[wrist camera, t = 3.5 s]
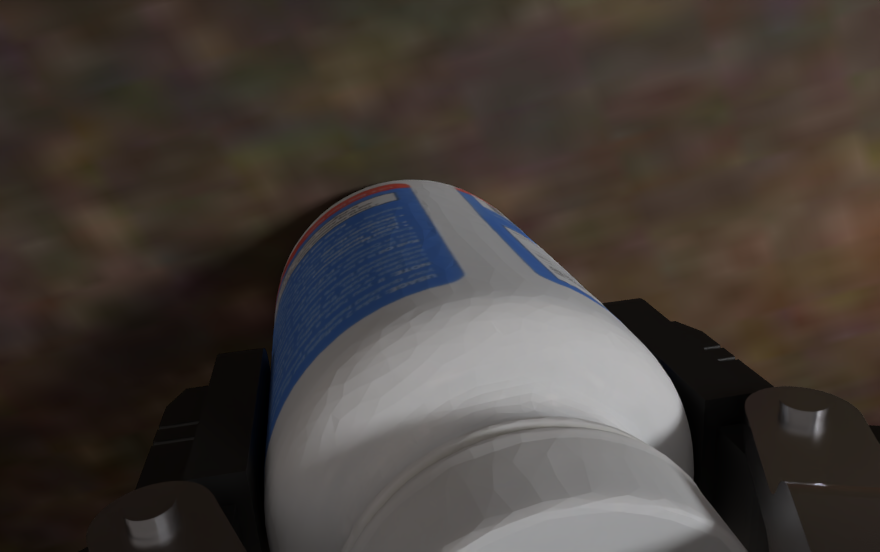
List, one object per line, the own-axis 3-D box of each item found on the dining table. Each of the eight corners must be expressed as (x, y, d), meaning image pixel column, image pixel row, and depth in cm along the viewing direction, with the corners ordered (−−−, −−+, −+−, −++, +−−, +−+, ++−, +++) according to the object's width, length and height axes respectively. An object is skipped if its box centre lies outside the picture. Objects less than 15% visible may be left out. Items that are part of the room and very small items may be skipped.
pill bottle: (273, 415, 16) (224, 952, 7) (280, 165, 14) (231, 419, 5) (518, 416, 17) (769, 879, 8) (552, 184, 15) (923, 421, 6)
